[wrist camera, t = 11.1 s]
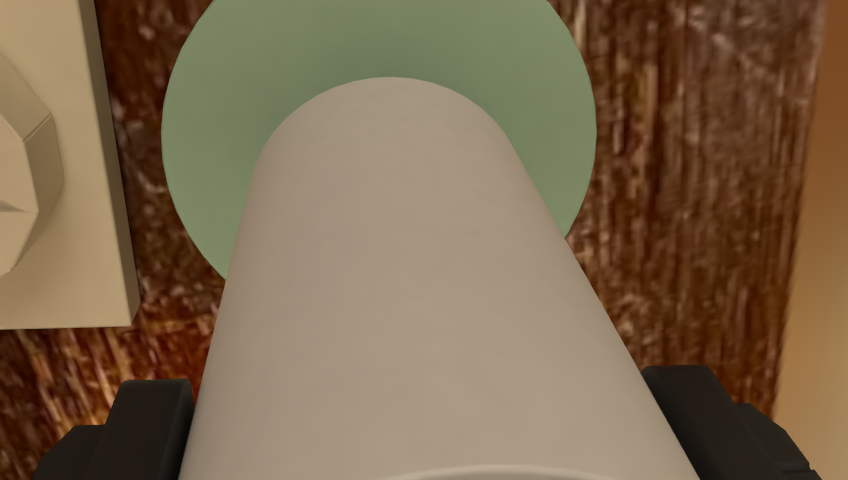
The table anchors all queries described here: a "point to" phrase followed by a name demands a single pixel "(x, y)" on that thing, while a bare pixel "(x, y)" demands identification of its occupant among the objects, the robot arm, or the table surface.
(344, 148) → the beige tall cylinder
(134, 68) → the table surface
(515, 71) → the green round disc
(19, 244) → the push button box
